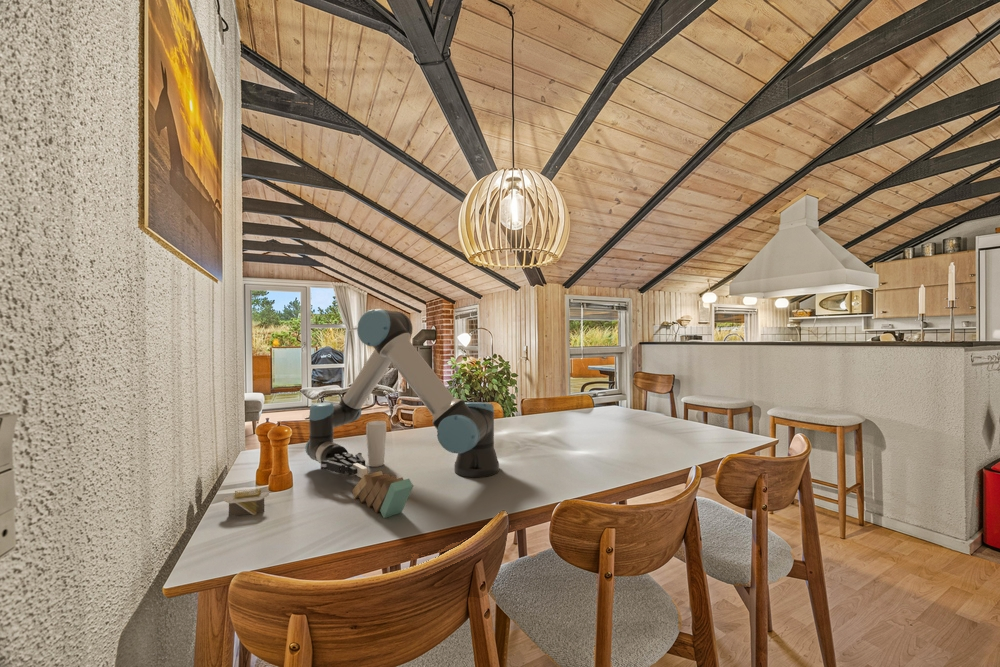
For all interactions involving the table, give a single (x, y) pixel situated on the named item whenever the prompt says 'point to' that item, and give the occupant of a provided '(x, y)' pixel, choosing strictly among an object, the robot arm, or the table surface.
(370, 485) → the domino
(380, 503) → the domino
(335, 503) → the table surface
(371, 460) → the drinking glass
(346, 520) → the table surface
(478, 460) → the robot arm
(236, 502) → the platform
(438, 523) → the table surface
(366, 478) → the domino
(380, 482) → the domino
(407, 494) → the domino
